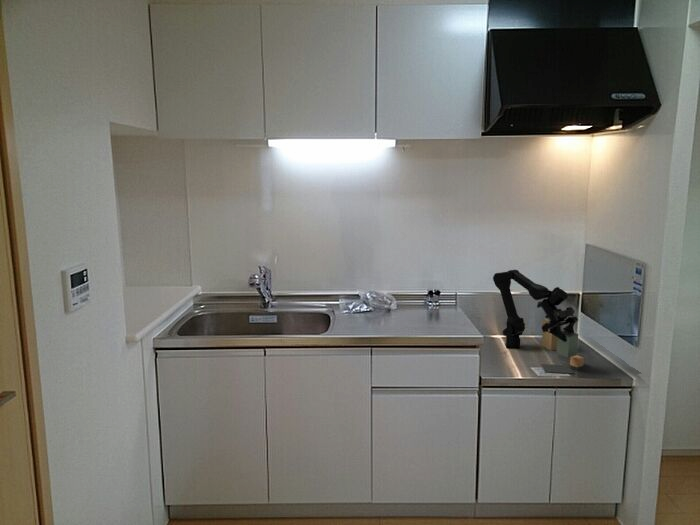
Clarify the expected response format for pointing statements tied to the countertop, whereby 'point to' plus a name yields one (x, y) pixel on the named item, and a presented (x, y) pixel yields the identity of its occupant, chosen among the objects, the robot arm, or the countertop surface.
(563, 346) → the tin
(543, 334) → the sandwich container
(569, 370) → the mat
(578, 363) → the block
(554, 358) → the countertop surface
